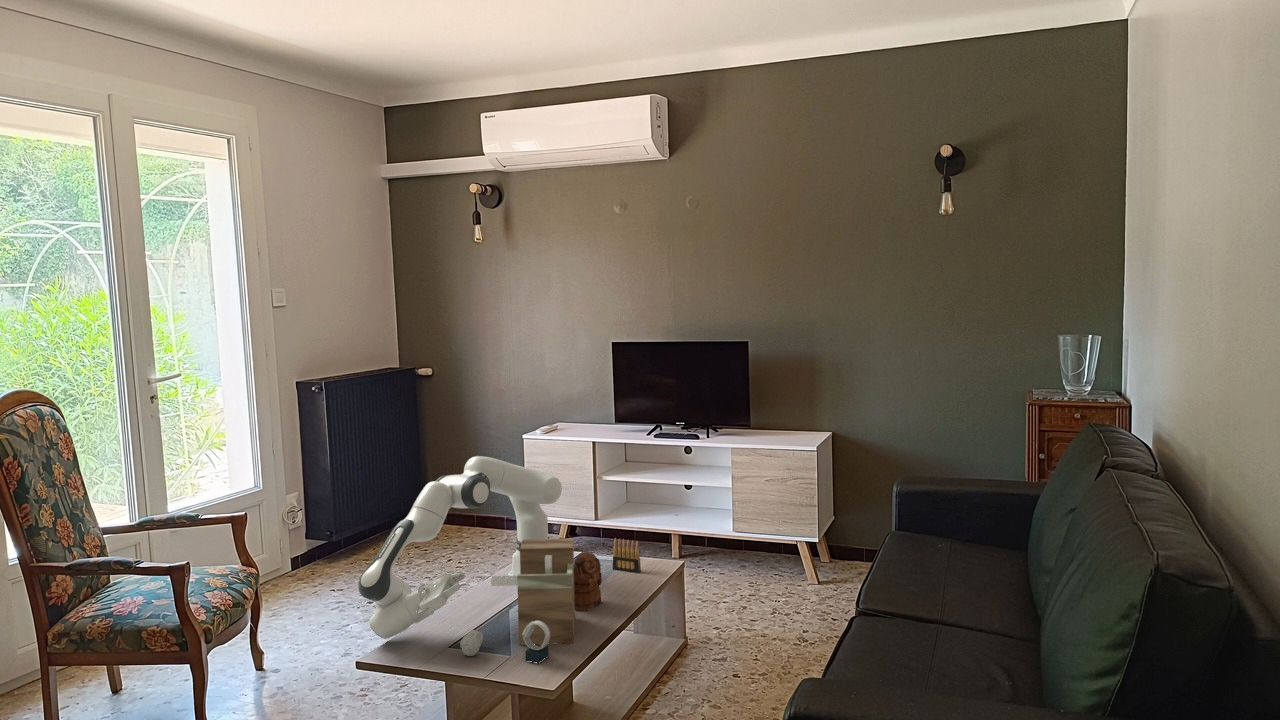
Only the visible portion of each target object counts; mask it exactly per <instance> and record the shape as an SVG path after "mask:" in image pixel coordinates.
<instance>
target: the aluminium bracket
mask: <svg viewBox="0 0 1280 720" xmlns="http://www.w3.org/2000/svg"><path fill="white" fill-rule="evenodd" d="M545 574H552V555H545ZM490 581H491V583H490V584H491V587H500V586H503V587H504V586H506V587H507V586H518V585H517V575H514V576H508V575H492V577H491V580H490Z"/></svg>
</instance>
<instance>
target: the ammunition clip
mask: <svg viewBox="0 0 1280 720" xmlns="http://www.w3.org/2000/svg"><path fill="white" fill-rule="evenodd" d="M612 551H613V554H612V555H613V556H612V570H613V571H617V572H618V571H620V572H625V573H635V574H640V573H641V572H642V569H641V558H640V553H641V552H640V547H639V540H636V541H635V542H634V540H633V539H632V540H631V542H630V540H629V539H627V541H626V540H625V539H624V538H623V540H621V538H619V539H618V541H617V537H614V540H613V549H612Z"/></svg>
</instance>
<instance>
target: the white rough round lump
mask: <svg viewBox="0 0 1280 720" xmlns="http://www.w3.org/2000/svg"><path fill="white" fill-rule="evenodd" d="M483 640H484V634H483V633H482V632H481V631H478V630H475V629H471V630H470V631H469V632H468V633H466V634H465V635H464V636H463V637H462V638H461V640H460V642H459V645H460V648H461V651H462V653H463V654H464V655H465V656H467V657H473V656H475V655H477V654H478V652H479V650H480V647H481V646H482V643H483Z"/></svg>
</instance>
